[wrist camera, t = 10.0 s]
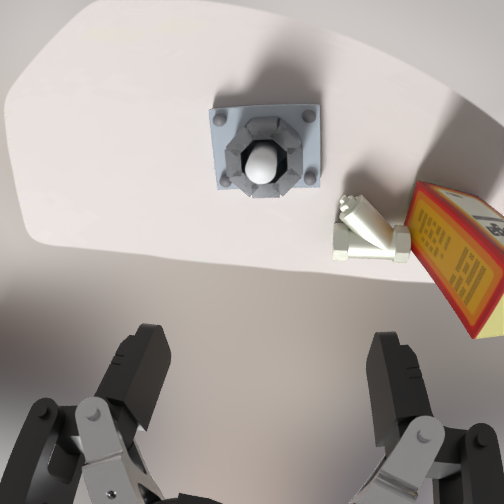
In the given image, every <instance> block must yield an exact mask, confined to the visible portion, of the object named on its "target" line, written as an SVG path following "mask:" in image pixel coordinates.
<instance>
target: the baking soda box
mask: <svg viewBox="0 0 504 504" xmlns="http://www.w3.org/2000/svg"><path fill="white" fill-rule="evenodd" d="M403 226H407V227H408V228H409V230H410V235H411V251H412V252H413V253H414V254H415V256H416V257H417V258H418V260H419V261H420V262H421V264H422V265H423V266H424V268H425V269H426V271H427V272H428V273H429V275H430V276H431V277H432V279H433V280H434V282H435V283H436V284H437V286H438V287H439V289H440V290H441V291H442V293H443V295H444V296H445V298H446V299H447V300H448V302H449V303H450V305H451V306H452V308H453V310H454V311H455V313H456V314H457V315H458V317H459V319H460V320H461V322H462V323H463V325H464V327H465V328H466V330H467V332H468V333H469V335H470V336H471V338H472V339H477V338H486V337H494V336H501V335H504V216H503V215H501V214H500V213H499V212H498V211H496V210H495V209H494V208H492V207H491V206H490V205H489V204H487V203H486V202H485V201H483V200H482V199H480V198H479V197H478V196H474V195H471V194H467V193H464V192H460V191H457V190H453V189H449V188H446V187H442V186H438V185H434V184H430V183H426V182H422V181H417V183H416V187H415V190H414V194H413V197H412V200H411V204H410V207H409V210H408V213H407V216H406V219H405V222H404V225H403Z"/></svg>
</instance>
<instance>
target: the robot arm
mask: <svg viewBox="0 0 504 504" xmlns="http://www.w3.org/2000/svg"><path fill="white" fill-rule="evenodd" d="M170 363H171V351H170V348H169V345H168V342H167V339H166V337H165V334H164V331H163V328H162V326H160V325H153V324H141V325H140V326H139V328H138V330H137V332H136V334H135V336H134V335H129V336H128V337H127V338H126V339H125V340H124V341H123V342H122V343H121V344H120V346H119V348H118V349H117V351H116V353H115V356H114V357H113V359H112V361H111V364H110V365H109V367H108V369H107V371H106V373H105V375H104V377H103V379H102V381H101V384H100V385H99V387H98V390H97V392H96V393H95V395H94V397H90V398H87V399H85V400H83V401H82V402H81V403H80V404H79V405H78V406H58V405H57V404H56V403H55V401H54V400H52V399H50V398H42V399H39V400H38V401H36V402H35V403H34V404H33V406H32V407H31V409H30V411H29V414H28V416H27V418H26V420H25V422H24V425H23V427H22V429H21V431H20V434H19V436H18V438H17V441H16V443H15V445H14V448H13V450H12V453H11V455H10V458H9V460H8V463H7V466H6V468H5V471H4V474H3V477H2V479H1V482H0V504H73V501H74V497H75V494H76V491H77V487H78V484H79V480H80V477H81V474H82V473H83V477H84V480H85V483H86V486H87V490H88V493H89V496H90V499H91V502H92V504H222V503H219V502H217V501H214V500H212V499H209V498H203V497H198V496H192V495H187V494H182V493H179V496H178V498H170V499H165V498H164V496H163V494H162V492H161V490H160V488H159V487H158V485H157V484H156V483H155V481H154V480H153V478H152V476H151V475H150V473H149V470H148V468H147V466H146V463H145V461H144V459H143V457H142V454H141V452H140V449H139V447H138V444H137V442H136V439H135V438H134V436H135V433H136V431H137V430H139V431H144V432H146V431H147V429H148V426H149V422H150V420H151V417H152V414H153V411H154V408H155V405H156V402H157V400H158V397H159V394H160V391H161V388H162V386H163V382H164V380H165V377H166V374H167V371H168V369H169V366H170ZM366 373H367V380H368V387H369V394H370V401H371V408H372V416H373V424H374V434H375V443H376V447H381V446H385V453H386V454H385V456H384V457H383V458H382V460H381V461H380V463H379V464H378V466H377V467H376V469H375V470H374V471H373V473H372V474H371V476H370V477H369V478H368V480H367V481H366V482H365V484H364V485H363V486H362V488H361V489H360V490H359V492H358V493H357V494H356V495H355V496H354V497H353V498H352V500H351V501H350V502H349V503H348V504H414V502H415V501H416V499H417V496H418V494H417V490H418V488H419V487H420V485H421V483H422V481H423V479H424V478H432V481H433V499H434V504H504V472H503V466H502V460H501V454H500V449H499V444H498V440H497V435H496V433H495V431H494V429H493V428H492V427H491V426H489V425H487V424H484V423H478V424H475V425H473V426H472V427H471V428H470V429H469V430H461V429H454V428H448V427H445V426H443V425H442V424H441V423H440V421H438V420H437V419H436V418H434V416H433V414H432V411H431V407H430V403H429V399H428V395H427V391H426V388H425V384H424V380H423V378H422V373H421V370H420V369H419V364H418V360H417V356H416V354H415V353H414V352H413V351H412V349H411V348H410V347H409V346H408V345H400V343H399V339H398V336H397V334H396V332H376V333H375V335H374V338H373V341H372V344H371V347H370V351H369V354H368V357H367V362H366ZM55 444H56V445H55ZM54 446H55V448H54ZM53 449H54V451H53ZM52 451H53V453H52ZM51 453H52V456H51ZM50 456H51V459H50ZM49 459H50V461H49ZM85 461H86V464H85ZM48 462H49V464H48Z"/></svg>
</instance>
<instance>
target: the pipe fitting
mask: <svg viewBox="0 0 504 504" xmlns="http://www.w3.org/2000/svg"><path fill="white" fill-rule="evenodd" d="M339 202H340V203H341V205H340V210H341V211H342V212H341V213H340V216H339V218H340V219H341V220H342V221H343V222H344V223H335V224H334V229H333V259H334V260H338V261H347V259H348V258H361V259H386V260H392V261H393V262H394V263H406V262H407V261H408V259H409V256H410V250H411V235H410V230H409V228H408V227H407V226H401V225H395V226H394V227H393V228H392V227H391V225H390V224H389V223H388V222H387V221H386V220H385V219H384V218H383V217H382V216H381V214H380V213H379V212H378V211H377V210H376V209H375V208H374V207H373V206H372V205H371V204H370V203H369V202H368V201H367V199H366V198H365V197H364V196H363V195H358V196H356V197H354V196H353V195H350V196H348V197H347V196H346V195H343V196H342V197H341V198H340V200H339Z"/></svg>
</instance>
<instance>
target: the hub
mask: <svg viewBox="0 0 504 504" xmlns="http://www.w3.org/2000/svg"><path fill="white" fill-rule="evenodd" d="M267 139H273V140H274V141H275V142H276V143H277V144H279V145H280V146H281V147H282V148H283V149H284V150H285V151H286V152H287V156H286V157H285V158H284V159H283V160H282V161H281V162H280V163H279V164H278V165H277V167H276V174H275V176H274V178H273V179H272V180H271V181H270V182H268V183H266V184H257V183H254V182H252V181H251V180H250V179H249V178H248V177H247V175H246V172H245V167H246V164H247V161H248V159H249V155H248V145H249V144H250V143H251V142H252V140H267ZM224 151H225V161H226V171H227V177H230V178H229V180H230V181H231V182H232V183H233V184H235V185H236V186H237V187H238V188H239V189H241V190H242V191H243V192H244V193H245V194H247V195H248V196H249V197H250V196H251V195H252V198H276V197H280V194H281V195H282V196H284V195H285V194H286V193H287V192H288V191H289V190H290V189H291V188H292V187H293V186H294V185H295V184H296V183H297V182H298V181H299V180H300V179H301V178H302V175H303V146H302V142H301V139H300V136H299V133H298V132H297V131H296V130H295V129H293V128H292V127H291V126H290V125H289V124H288V123H287V122H286V121H285V120H283V119H282V118H281V117H280V118H279V119H278V116H264V117H253V118H252V119H251V118H250V120H249V121H248V122H247V123H246V124H245V125H244V126H243V127H242V128H241V129H240V130H239V132H238V133H237V134H236V135H235V136H234V137H233V139H232V140H231V141H230V142H229V143H228V145H227V146H226V149H225V150H224Z"/></svg>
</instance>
